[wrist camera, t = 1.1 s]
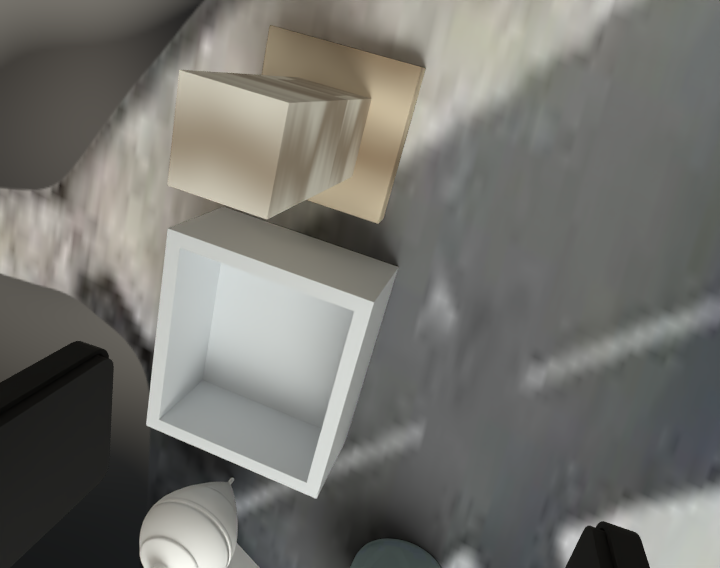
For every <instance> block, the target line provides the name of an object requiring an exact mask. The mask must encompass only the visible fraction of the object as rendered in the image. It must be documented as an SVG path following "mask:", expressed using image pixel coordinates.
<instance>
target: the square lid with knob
mask: <svg viewBox="0 0 720 568" xmlns="http://www.w3.org/2000/svg"><path fill="white" fill-rule="evenodd" d="M425 69H426V68H423V67H419V66H416V65H412V64H409V63H405V62H401V61H398V60H394V59H391V58H387V57H383V56H380V55H376V54H372V53H369V52H365V51H362V50H358V49H354V48H351V47H347V46H344V45H340V44H336V43H333V42H329V41H326V40H322V39H318V38H315V37H311V36H308V35H304V34H300V33H297V32H293V31H290V30H286V29H282V28H279V27H275V26H271V25H270V27H269V33H268V39H267V45H266V51H265V57H264V63H263V69H262V75H269V76H285V77H299V78H302V79H306V80H309V81H312V82H316V83H319V84H323V85H326V86H330V87H333V88H336V89H340V90H343V91H347V92H350V93H354V94H357V95H360V96H364V97H367V98H371V103H370V108H369V112H368V116H367V120H366V124H365V128H364V132H363V136H362V140H361V144H360V148H359V152H358V156H357V160H356V164H355V168H354V172H353V176H352V177H351V178H349V179H347V180H345V181H343V182H341V183H339V184H337V185H335V186H333V187H331V188H329V189H327V190H325V191H323V192H321V193H319V194H317V195H315V196H313V197H311V198H309V199H307V200H308V201H311V202H314V203H317V204H320V205H323V206H326V207H329V208H332V209H335V210H338V211H341V212H344V213H347V214H350V215H353V216H356V217H359V218H362V219H365V220H368V221H371V222H374V223H377V224H378V223H379V222H381V221H382V220H383V219H384V215H385V211H386V208H387V204H388V201H389V197H390V194H391V190H392V186H393V183H394V179H395V176H396V172H397V169H398V165H399V162H400V158H401V154H402V151H403V147H404V144H405V140H406V137H407V133H408V129H409V126H410V122H411V119H412V115H413V112H414V108H415V105H416V101H417V97H418V94H419V90H420V87H421V83H422V80H423V76H424V72H425Z"/></svg>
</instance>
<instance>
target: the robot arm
mask: <svg viewBox="0 0 720 568" xmlns="http://www.w3.org/2000/svg"><path fill="white" fill-rule="evenodd" d="M112 389H113V362H112V360H110V359H109V355H108V353H107V351H106V350H104V349H102V348H99V347H96V346H93V345H90V344H87V343H84V342H81V341H76V342H73V343H71V344H69V345H67V346H65V347H63V348H62V349H60V350H58V351H56V352H54V353H53V354H51V355H49V356H47V357H46V358H44V359H42V360H40V361H38V362H37V363H35V364H33V365H32V366H30V367H28V368H26V369H24V370H22V371H20V372H19V373H17V374H15V375H13V376H12V377H10V378H8V379H6V380H4V381H2V382H1V383H0V568H10V567H11V566H12V565H13V564H14V563H15V562H16V561H17V560H18V559H19V558H21V557H22V556H23V555H24V554H25V553H26V552H27V551H28V550H29V549H30V548H31V547H32V546H33V545H34V544H35V543H36V542H38V541H39V540H40V539H41V538H42V537H43V536H44V535H45V534H46V533H47V532H48V531H49V530H50V529H51V528H52V527H53V526H54V525H56V524H57V523H58V522H59V521H60V520H61V519H62V518H63V517H64V516H65V515H66V514H67V513H68V512H69V511H70V510H71V509H72V508H74V507H75V506H76V505H77V504H78V503H79V502H80V501H81V500H82V499H83V498H84V497H85V496H86V495H87V494H88V493H89V492H90V491H91V490H93V489H94V488H95V487H96V486H97V485H98V484H99V483H100V482H101V481H102V479H103V478H104V476H105V474H106V472H107V470H108V467H109V456H110V434H111V433H110V432H111V411H112ZM565 568H650V567H649V563H648V560H647V557H646V554H645V551H644V548H643V544H642V541H641V539H640V537H639V535H638V534H637V533H636V532H633V531H630V530H627V529H624V528H621V527H618V526H616V525H613V524H610V523H607V522H604V521H603V522H600V523H599V524H598V525H597V526H596V528H595V527H592V526H587V527H586V528H585V529H584V531H583V533H582V535H581V537H580V539H579V541H578V543H577V545H576V547H575V549H574V551H573V553H572V555H571V557H570V559H569V561H568V563H567V565H566V567H565Z"/></svg>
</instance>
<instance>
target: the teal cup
mask: <svg viewBox="0 0 720 568" xmlns="http://www.w3.org/2000/svg"><path fill="white" fill-rule="evenodd" d="M350 568H441V567H440V565H439V564H438V562H437V561H436V560H435V559H434V558H433V557H432V556H431V555H430V554H429V553H428V552H426V551H425V550H423V549H422V548H420V547H418V546H417V545H415V544H412V543H410V542H407V541H403V540H399V539H390V538H385V539H378V540H374V541H371V542H369V543H367V544H366V545H364V546H363V547H362V548H361V549H360V550H359V552H358V553H357V554H356V556H355V558H354V560H353V562H352V565H351V567H350Z"/></svg>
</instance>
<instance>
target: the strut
mask: <svg viewBox="0 0 720 568" xmlns="http://www.w3.org/2000/svg"><path fill="white" fill-rule="evenodd" d="M370 103H371V98H367V97H364V96H360V95H357V94H354V93H350V92H347V91H343V90H340V89H336V88H333V87H330V86H326V85H323V84H319V83H316V82H312V81H309V80H306V79H302V78H299V77H285V76H269V75H253V74H237V73H221V72H205V71H189V70H179V80H178V89H177V98H176V108H175V117H174V127H173V136H172V146H171V155H170V164H169V174H168V183H167V185H168V186H171V187H173V188H176V189H179V190H182V191H185V192H188V193H191V194H194V195H197V196H200V197H203V198H205V199H208V200H211V201H214V202H217V203H220V204H223V205H226V206H229V207H232V208H235V209H237V210H240V211H243V212H246V213H249V214H252V215H255V216H258V217H261V218H264V219H269V218H271V217H273V216H275V215H277V214H279V213H281V212H283V211H285V210H287V209H289V208H291V207H293V206H295V205H297V204H299V203H301V202H303V201H305V200H307V199H309V198H311V197H313V196H315V195H317V194H319V193H321V192H323V191H325V190H327V189H329V188H331V187H333V186H335V185H337V184H339V183H341V182H343V181H345V180H347V179H349V178H351V177H352V176H353V172H354V168H355V164H356V160H357V156H358V152H359V148H360V144H361V140H362V136H363V132H364V128H365V124H366V120H367V116H368V112H369V108H370Z"/></svg>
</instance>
